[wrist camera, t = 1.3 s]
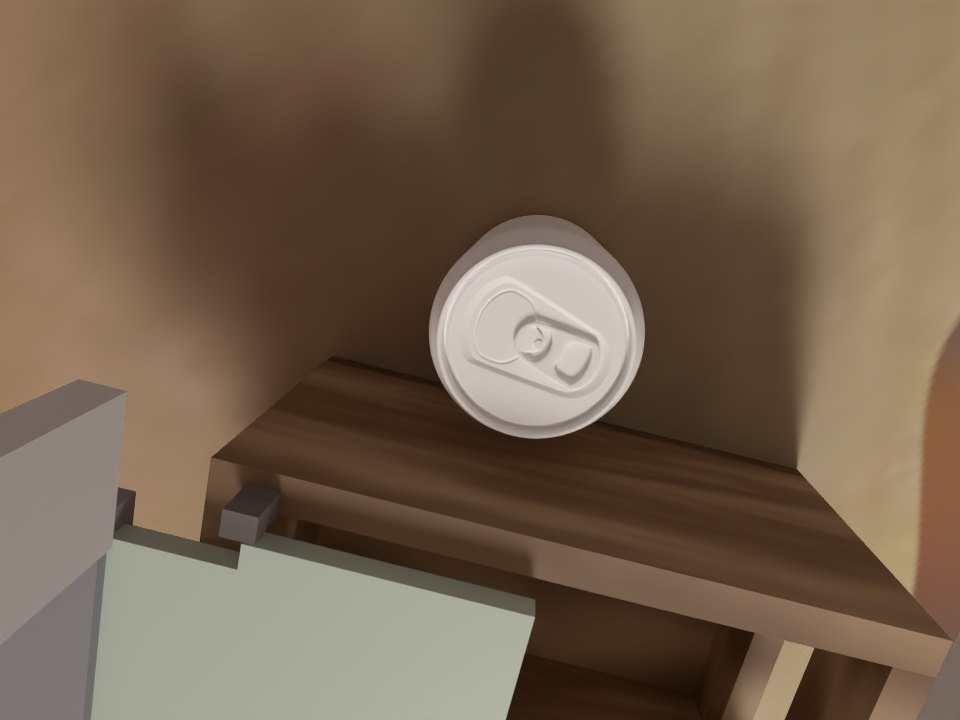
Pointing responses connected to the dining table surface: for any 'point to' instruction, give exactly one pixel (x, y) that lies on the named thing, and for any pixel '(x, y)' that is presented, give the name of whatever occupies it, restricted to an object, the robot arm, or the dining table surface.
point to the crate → (589, 551)
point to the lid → (262, 637)
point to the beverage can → (536, 329)
